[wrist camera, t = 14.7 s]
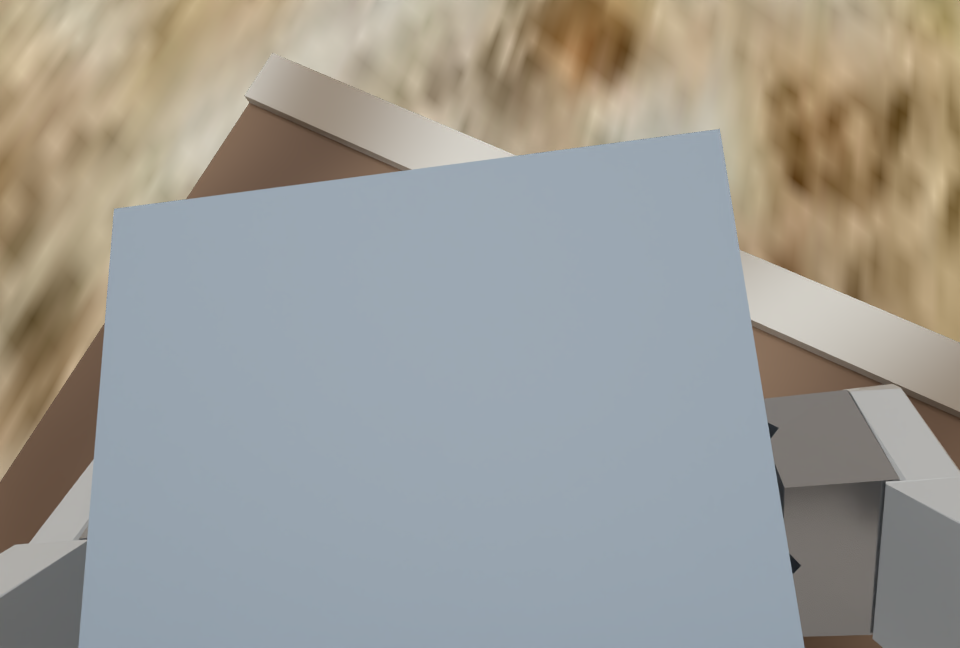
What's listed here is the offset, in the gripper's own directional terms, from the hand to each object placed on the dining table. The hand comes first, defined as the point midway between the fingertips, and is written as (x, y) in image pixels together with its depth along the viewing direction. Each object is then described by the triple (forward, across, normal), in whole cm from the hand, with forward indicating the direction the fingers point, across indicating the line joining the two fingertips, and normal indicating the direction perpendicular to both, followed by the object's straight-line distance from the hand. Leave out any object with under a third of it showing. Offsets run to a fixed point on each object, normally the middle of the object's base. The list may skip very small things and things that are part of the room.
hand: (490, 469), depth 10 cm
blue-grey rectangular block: (+4, 0, +5) cm, 6 cm away
